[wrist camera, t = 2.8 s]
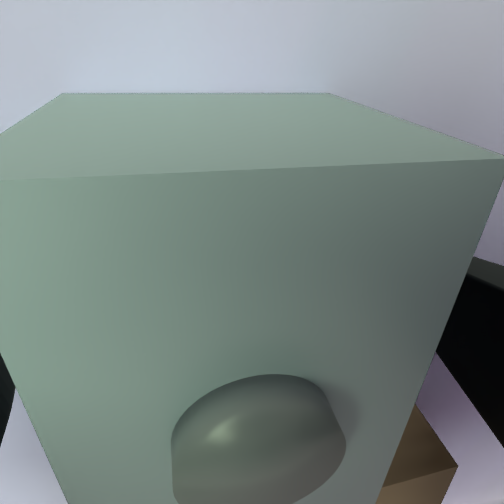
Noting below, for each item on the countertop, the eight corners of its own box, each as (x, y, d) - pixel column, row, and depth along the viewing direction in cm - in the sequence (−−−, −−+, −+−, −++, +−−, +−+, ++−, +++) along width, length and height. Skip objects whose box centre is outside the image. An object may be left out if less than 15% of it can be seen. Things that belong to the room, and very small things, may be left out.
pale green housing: (329, 93, 8) (564, 176, 3) (296, 351, 12) (383, 550, 8) (61, 93, 7) (-126, 216, 2) (124, 378, 11) (101, 630, 6)
